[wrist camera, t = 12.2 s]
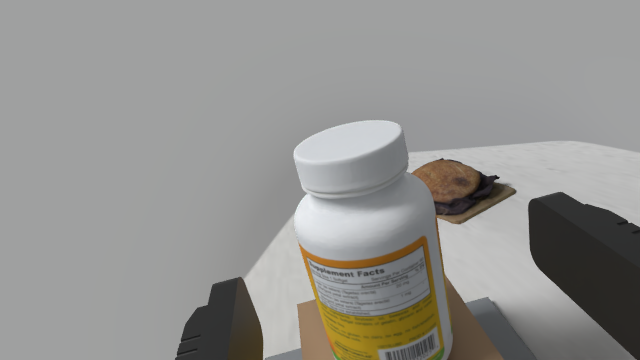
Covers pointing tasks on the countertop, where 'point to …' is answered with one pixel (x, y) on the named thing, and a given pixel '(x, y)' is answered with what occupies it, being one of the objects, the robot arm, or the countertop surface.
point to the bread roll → (460, 189)
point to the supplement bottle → (372, 245)
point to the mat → (491, 322)
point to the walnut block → (468, 336)
